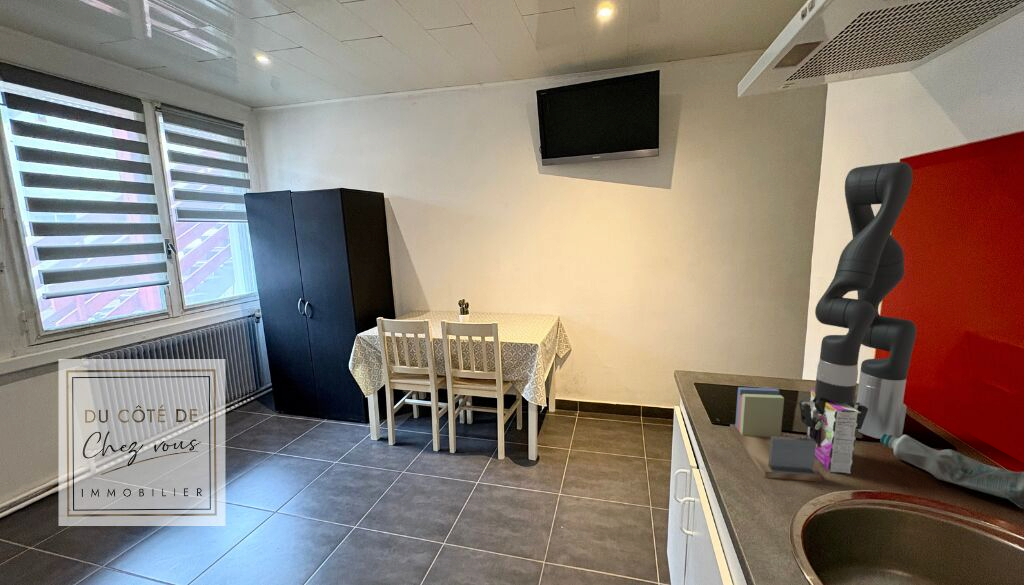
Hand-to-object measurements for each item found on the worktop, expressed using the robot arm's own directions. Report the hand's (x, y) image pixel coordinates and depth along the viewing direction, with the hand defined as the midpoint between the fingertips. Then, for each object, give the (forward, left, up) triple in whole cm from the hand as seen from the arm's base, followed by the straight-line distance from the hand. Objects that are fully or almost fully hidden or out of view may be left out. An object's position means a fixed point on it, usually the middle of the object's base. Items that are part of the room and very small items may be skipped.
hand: (828, 441), depth 97 cm
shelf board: (+12, -2, -5) cm, 13 cm away
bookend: (+12, +8, -3) cm, 15 cm away
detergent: (-24, +4, -5) cm, 24 cm away
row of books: (+12, -10, -3) cm, 16 cm away
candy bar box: (0, 0, -5) cm, 5 cm away
